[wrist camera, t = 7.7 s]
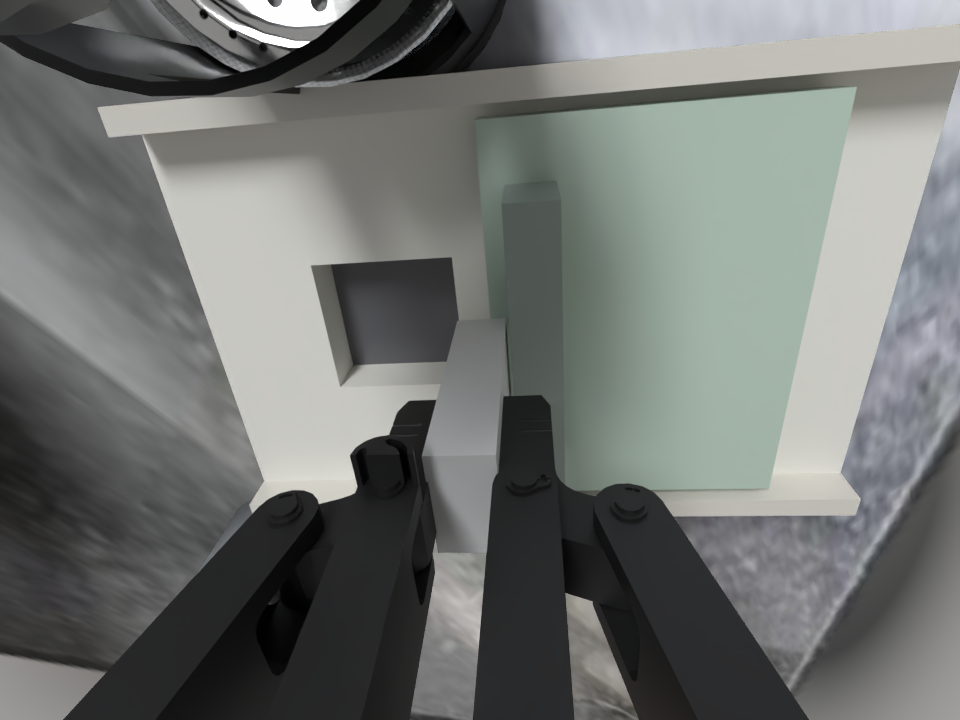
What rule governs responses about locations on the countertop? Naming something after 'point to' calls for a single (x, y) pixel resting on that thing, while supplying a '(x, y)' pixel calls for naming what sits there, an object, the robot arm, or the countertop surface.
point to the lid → (660, 275)
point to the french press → (252, 43)
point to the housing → (460, 240)
